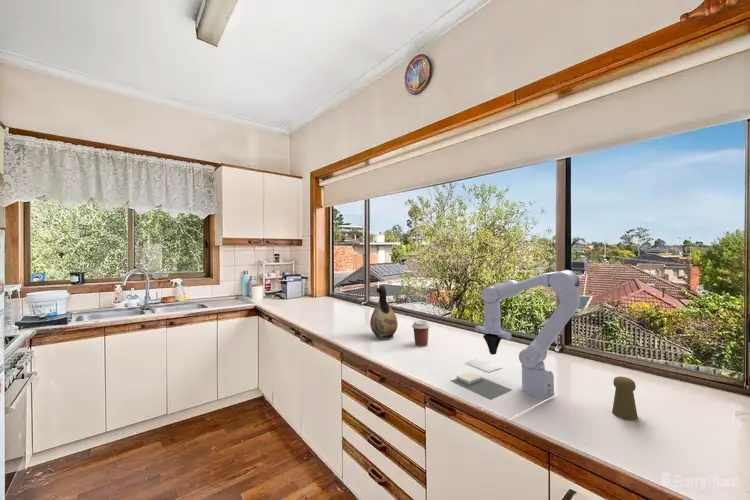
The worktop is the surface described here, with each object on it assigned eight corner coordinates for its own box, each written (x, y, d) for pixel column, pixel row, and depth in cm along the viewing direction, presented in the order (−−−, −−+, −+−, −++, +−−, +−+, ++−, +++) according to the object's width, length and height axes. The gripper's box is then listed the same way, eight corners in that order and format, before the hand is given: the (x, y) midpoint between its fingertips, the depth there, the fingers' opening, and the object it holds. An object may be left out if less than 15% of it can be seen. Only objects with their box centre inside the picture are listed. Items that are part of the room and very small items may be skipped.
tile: (482, 376, 118) (469, 371, 123) (469, 381, 114) (456, 375, 119) (482, 381, 118) (469, 375, 123) (469, 385, 114) (456, 380, 119)
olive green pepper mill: (610, 415, 94) (609, 378, 94) (614, 407, 98) (613, 372, 98) (636, 423, 90) (636, 384, 90) (639, 414, 94) (638, 377, 94)
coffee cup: (408, 345, 164) (408, 322, 164) (420, 341, 170) (419, 319, 170) (422, 349, 158) (422, 325, 157) (433, 345, 164) (433, 322, 164)
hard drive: (464, 362, 136) (488, 371, 125) (478, 358, 140) (502, 367, 130) (465, 366, 136) (488, 375, 125) (478, 362, 140) (502, 371, 130)
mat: (512, 391, 110) (512, 389, 110) (490, 401, 104) (490, 399, 104) (471, 374, 126) (471, 373, 126) (449, 382, 119) (449, 380, 119)
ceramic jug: (368, 335, 185) (367, 283, 185) (394, 333, 188) (393, 282, 187) (373, 343, 168) (372, 287, 168) (401, 341, 171) (400, 286, 171)
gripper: (470, 316, 124) (470, 350, 124) (502, 323, 112) (503, 361, 112) (481, 313, 128) (482, 347, 128) (514, 320, 116) (515, 357, 116)
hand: (493, 353), depth 120 cm, fingers closed
